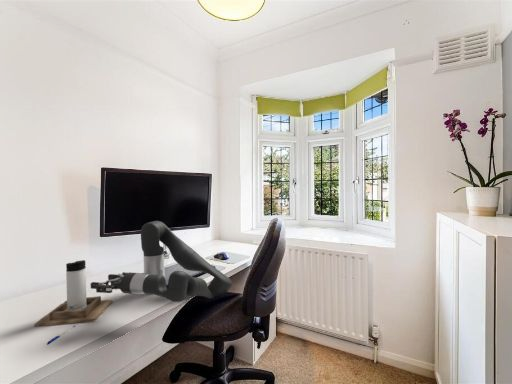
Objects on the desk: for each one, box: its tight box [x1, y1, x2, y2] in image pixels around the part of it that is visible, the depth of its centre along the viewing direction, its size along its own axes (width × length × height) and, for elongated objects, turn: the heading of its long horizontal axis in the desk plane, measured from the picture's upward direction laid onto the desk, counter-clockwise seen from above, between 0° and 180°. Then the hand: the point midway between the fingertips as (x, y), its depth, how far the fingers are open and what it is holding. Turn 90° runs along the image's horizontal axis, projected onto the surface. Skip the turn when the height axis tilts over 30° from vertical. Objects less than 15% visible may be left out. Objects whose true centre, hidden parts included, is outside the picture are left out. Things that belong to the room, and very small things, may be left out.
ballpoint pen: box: [46, 325, 76, 345], centre depth 84 cm, size 10×1×1 cm, turn 175°
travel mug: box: [65, 259, 87, 311], centre depth 98 cm, size 6×7×20 cm
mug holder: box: [34, 295, 113, 327], centre depth 98 cm, size 20×16×4 cm
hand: (100, 280), depth 96 cm, fingers open, 8 cm apart
